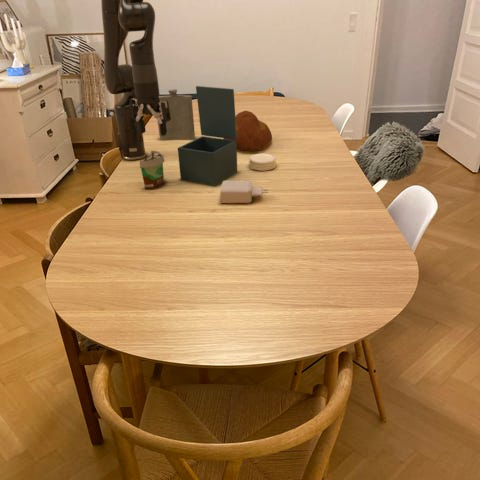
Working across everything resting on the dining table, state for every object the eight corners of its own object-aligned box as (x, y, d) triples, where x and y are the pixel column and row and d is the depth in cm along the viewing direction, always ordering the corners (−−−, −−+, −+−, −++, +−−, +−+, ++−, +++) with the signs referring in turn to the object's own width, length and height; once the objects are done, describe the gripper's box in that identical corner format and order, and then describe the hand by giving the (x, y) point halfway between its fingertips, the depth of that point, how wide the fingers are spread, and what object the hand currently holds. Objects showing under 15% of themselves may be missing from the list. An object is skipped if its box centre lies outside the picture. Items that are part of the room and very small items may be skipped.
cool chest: (215, 186, 163) (213, 153, 156) (180, 180, 169) (177, 147, 162) (237, 172, 173) (236, 140, 167) (204, 166, 179) (201, 136, 173)
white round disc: (243, 167, 177) (243, 158, 175) (261, 160, 183) (261, 151, 181) (264, 173, 172) (264, 163, 170) (281, 166, 178) (281, 156, 175)
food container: (160, 191, 160) (156, 162, 154) (143, 190, 161) (139, 161, 155) (171, 178, 170) (168, 150, 164) (155, 178, 171) (151, 150, 165)
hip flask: (159, 140, 210) (153, 91, 198) (160, 137, 213) (154, 89, 201) (194, 139, 209) (190, 90, 197) (195, 136, 212) (191, 88, 200)
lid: (232, 89, 156) (240, 85, 159) (195, 86, 161) (204, 82, 165) (235, 139, 166) (243, 134, 170) (201, 135, 172) (209, 130, 176)
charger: (267, 204, 149) (220, 204, 150) (268, 193, 156) (223, 193, 157) (268, 190, 146) (220, 189, 147) (268, 179, 153) (223, 179, 154)
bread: (224, 155, 189) (222, 123, 182) (221, 133, 216) (220, 104, 208) (276, 153, 190) (276, 121, 183) (267, 131, 216) (267, 102, 209)
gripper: (171, 78, 146) (177, 133, 155) (135, 76, 151) (143, 129, 161) (156, 83, 140) (163, 139, 150) (119, 80, 146) (129, 134, 156)
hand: (153, 133), depth 155 cm, fingers open, 8 cm apart
